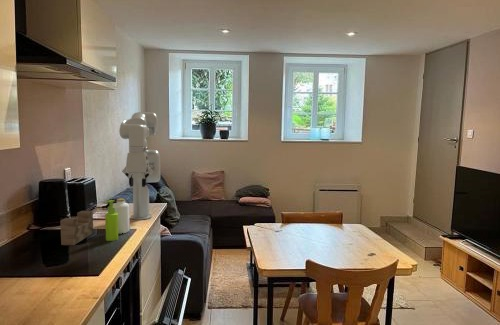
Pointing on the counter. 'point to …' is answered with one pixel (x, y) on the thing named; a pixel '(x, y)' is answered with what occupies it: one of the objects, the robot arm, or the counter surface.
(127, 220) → the potion bottle
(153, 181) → the robot arm
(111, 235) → the soap dispenser
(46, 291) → the counter surface
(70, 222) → the bottle rest
